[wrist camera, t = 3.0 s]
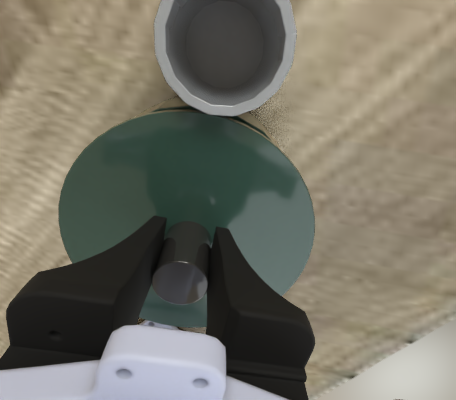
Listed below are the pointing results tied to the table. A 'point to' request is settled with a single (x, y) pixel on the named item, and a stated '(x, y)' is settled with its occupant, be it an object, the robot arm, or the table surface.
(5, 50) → the table surface
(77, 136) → the table surface
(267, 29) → the gray cylindrical cup
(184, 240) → the pot lid
